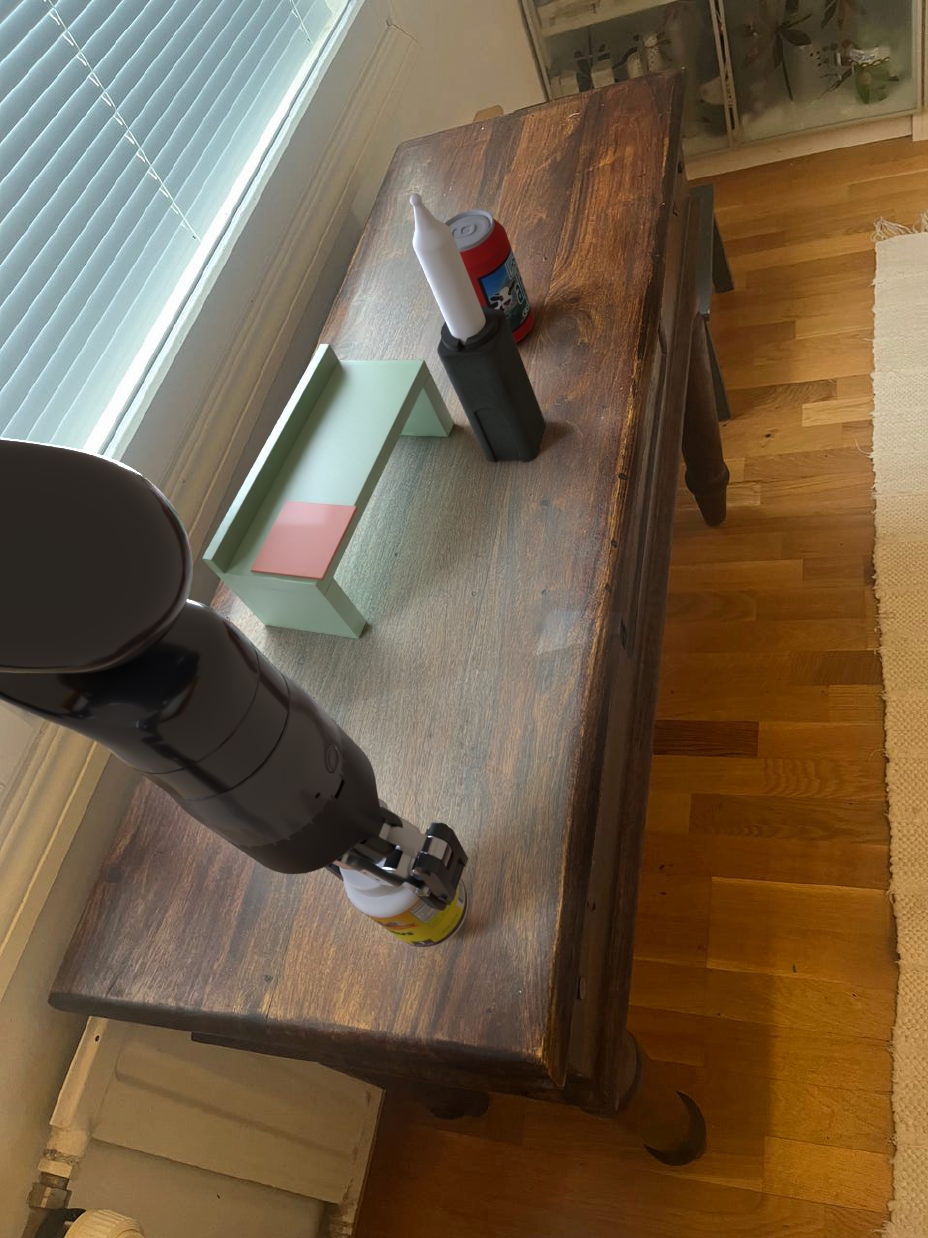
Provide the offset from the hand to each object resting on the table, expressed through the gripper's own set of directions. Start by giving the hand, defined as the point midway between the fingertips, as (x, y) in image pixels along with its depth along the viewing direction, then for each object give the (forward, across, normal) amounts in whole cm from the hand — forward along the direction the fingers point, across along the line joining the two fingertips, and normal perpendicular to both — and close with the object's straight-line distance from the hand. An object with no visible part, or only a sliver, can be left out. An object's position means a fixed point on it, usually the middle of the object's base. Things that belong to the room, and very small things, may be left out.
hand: (400, 881), depth 57 cm
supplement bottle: (+6, 0, 0) cm, 6 cm away
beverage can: (+6, -14, +55) cm, 57 cm away
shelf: (+6, -20, +31) cm, 38 cm away
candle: (+6, -8, +41) cm, 43 cm away
